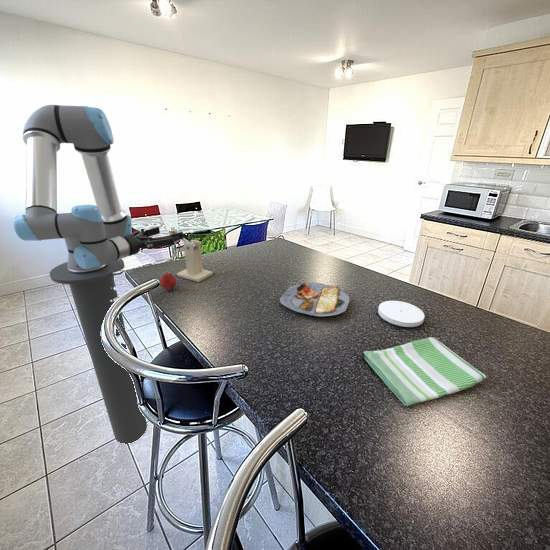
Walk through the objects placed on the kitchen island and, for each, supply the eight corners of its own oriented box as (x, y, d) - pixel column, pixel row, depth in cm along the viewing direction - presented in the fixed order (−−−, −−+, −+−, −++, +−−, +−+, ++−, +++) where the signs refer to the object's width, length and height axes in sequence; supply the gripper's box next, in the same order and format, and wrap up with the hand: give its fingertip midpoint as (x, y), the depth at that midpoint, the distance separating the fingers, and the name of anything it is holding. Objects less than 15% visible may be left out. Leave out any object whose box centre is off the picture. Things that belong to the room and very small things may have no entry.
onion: (158, 291, 110) (154, 272, 107) (170, 286, 114) (167, 267, 111) (168, 295, 107) (165, 276, 104) (180, 289, 112) (178, 270, 108)
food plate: (294, 283, 119) (294, 275, 118) (352, 293, 112) (353, 285, 110) (272, 312, 98) (272, 303, 96) (342, 328, 90) (343, 318, 89)
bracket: (177, 275, 123) (172, 242, 117) (192, 268, 130) (188, 237, 124) (198, 282, 118) (195, 247, 112) (213, 274, 125) (210, 241, 119)
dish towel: (360, 356, 78) (361, 348, 77) (430, 341, 85) (432, 333, 84) (406, 409, 63) (408, 399, 62) (487, 386, 69) (491, 377, 68)
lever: (166, 233, 121) (167, 226, 119) (172, 231, 124) (174, 224, 122) (190, 252, 118) (192, 245, 116) (196, 250, 121) (198, 243, 119)
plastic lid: (368, 310, 100) (369, 304, 99) (400, 304, 105) (402, 297, 104) (398, 333, 88) (399, 326, 87) (432, 324, 93) (434, 318, 92)
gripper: (104, 250, 110) (151, 236, 127) (149, 263, 99) (194, 246, 116) (100, 230, 107) (148, 219, 124) (146, 242, 96) (192, 228, 113)
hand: (170, 232), depth 120 cm, fingers open, 13 cm apart
